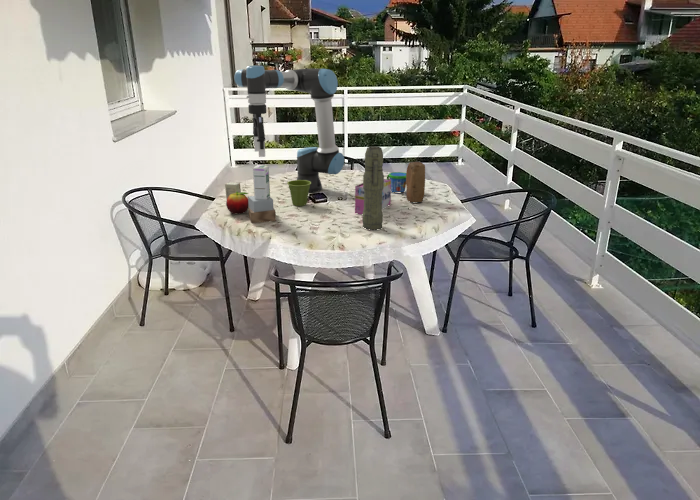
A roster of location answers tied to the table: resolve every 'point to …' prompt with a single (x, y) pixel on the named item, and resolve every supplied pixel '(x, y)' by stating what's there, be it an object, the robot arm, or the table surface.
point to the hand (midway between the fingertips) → (259, 154)
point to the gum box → (360, 196)
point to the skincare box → (232, 188)
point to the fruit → (237, 203)
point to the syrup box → (261, 182)
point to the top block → (260, 204)
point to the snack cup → (397, 181)
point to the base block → (262, 216)
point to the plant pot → (299, 191)
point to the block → (415, 182)
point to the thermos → (373, 188)
